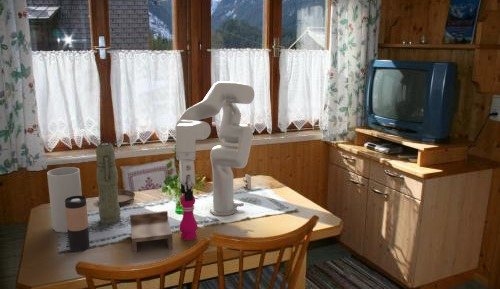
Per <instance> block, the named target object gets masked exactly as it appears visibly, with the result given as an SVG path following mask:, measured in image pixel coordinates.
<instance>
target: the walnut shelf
mask: <svg viewBox="0 0 500 289" xmlns="http://www.w3.org/2000/svg"><path fill="white" fill-rule="evenodd" d="M129 216H130V218H129V219H130V233H131V236H132V237H131V247H132V254H137V253H138V252H137V251H138V249H137V243H138V242H139V243H140V242H147V241H156V240H164V239H165V240H166V243H167V247H168V249H169V250H173V249H174V247H173V246H174V243H173V242H174V241H173V240H174V239H173V232H172V228H171V225H170V221H169V214H168V210H162V211H161V210H160V211H153V212H144V213H143V212H142V213H141V212H140V213H134V214H133V213H131V214H130V215H129Z"/></svg>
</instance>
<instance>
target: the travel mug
mask: <svg viewBox="0 0 500 289" xmlns="http://www.w3.org/2000/svg"><path fill="white" fill-rule="evenodd" d="M87 204H88V203H87V197H86V196H84V195H82V196H72V197H68V198H66V199H65V208H66V220H67V231H68V232H67V236H68V244H69V250H70V251H71V252H75V253H76V252H77V253H81V252H84V251H87V250H88V249H89V248H90V246H91V245H90V228H89V218H88V217H89V216H88V207H87V206H88V205H87Z"/></svg>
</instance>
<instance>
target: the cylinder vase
mask: <svg viewBox="0 0 500 289" xmlns="http://www.w3.org/2000/svg"><path fill="white" fill-rule="evenodd" d="M46 174H47V175H46V176H47V186H48V193H49V195H48V196H49V204H50V211H51V213H50V214H51V223H52V229H53V230H54V231H55V232H56V233H63V234H65V233H68V231H67V220H66V208H65V199H66V198H68V197H72V196H83V195H82V182H81V171H80V168H78V167H74V166H72V167H70V166H67V167H66V166H65V167H58V168H54V169H50V170H48V171H47V172H46Z"/></svg>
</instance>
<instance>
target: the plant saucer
mask: <svg viewBox="0 0 500 289" xmlns="http://www.w3.org/2000/svg"><path fill="white" fill-rule="evenodd" d="M135 196H136V193H135V192H134V191H132V190H129V189H118V203H119V206H123V205H127V204H129V203H130V202H132V201H133V200H134V198H135ZM98 200H99V196H98Z"/></svg>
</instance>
